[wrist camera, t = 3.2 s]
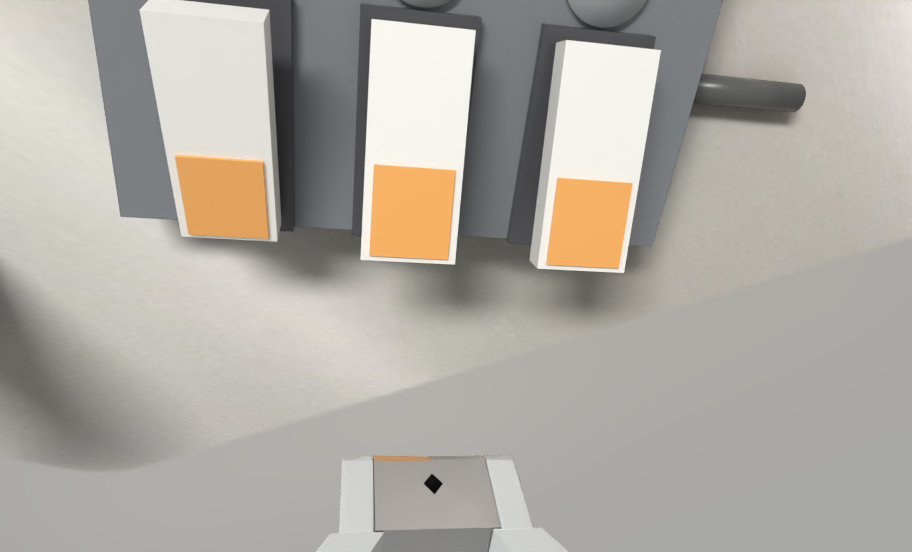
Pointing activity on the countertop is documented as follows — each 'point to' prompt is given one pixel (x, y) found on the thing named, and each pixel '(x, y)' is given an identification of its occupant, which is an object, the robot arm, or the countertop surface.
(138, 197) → the rocker switch panel
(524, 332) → the countertop surface
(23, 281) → the countertop surface
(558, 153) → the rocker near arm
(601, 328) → the countertop surface
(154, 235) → the countertop surface
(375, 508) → the robot arm
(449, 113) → the rocker middle
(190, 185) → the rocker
